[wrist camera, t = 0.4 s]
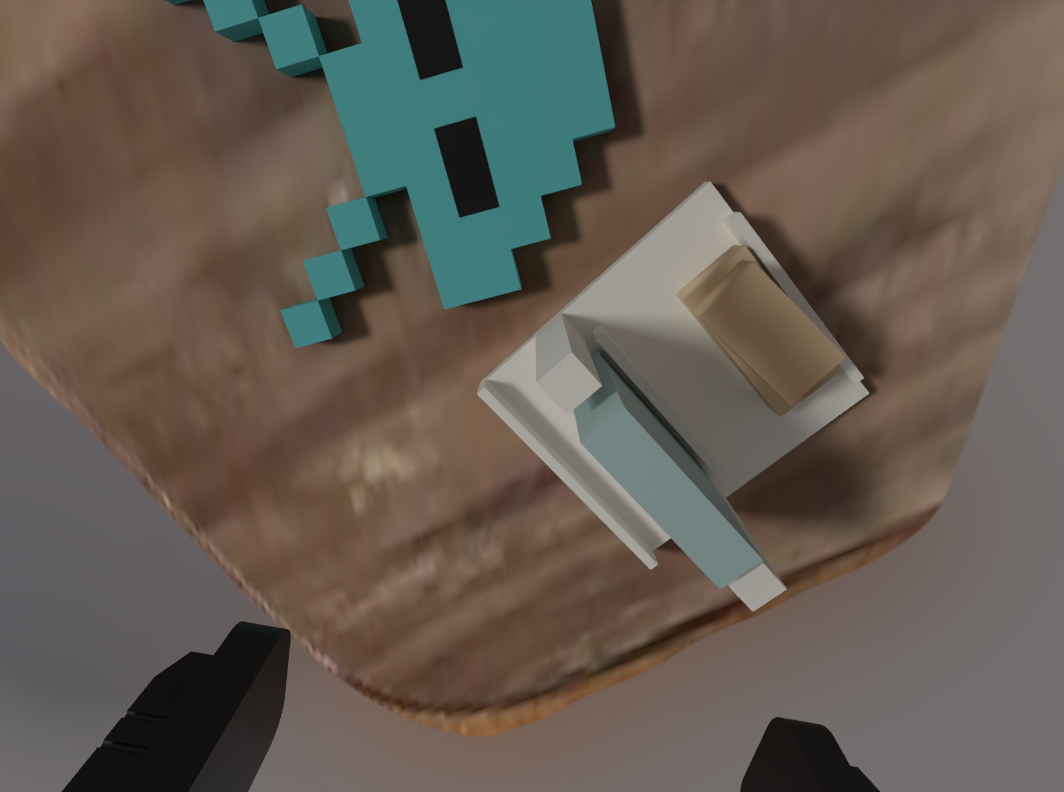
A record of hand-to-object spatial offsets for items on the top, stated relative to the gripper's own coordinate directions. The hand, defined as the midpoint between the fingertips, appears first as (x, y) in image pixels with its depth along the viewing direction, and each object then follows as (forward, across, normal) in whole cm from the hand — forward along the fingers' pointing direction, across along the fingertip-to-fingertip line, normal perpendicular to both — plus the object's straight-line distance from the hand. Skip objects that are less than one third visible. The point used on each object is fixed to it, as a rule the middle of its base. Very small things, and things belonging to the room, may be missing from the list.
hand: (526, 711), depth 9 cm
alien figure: (+26, +9, -11) cm, 30 cm away
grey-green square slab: (+25, -7, +3) cm, 26 cm away
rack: (+26, -9, +1) cm, 27 cm away
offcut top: (+23, -12, -4) cm, 26 cm away
